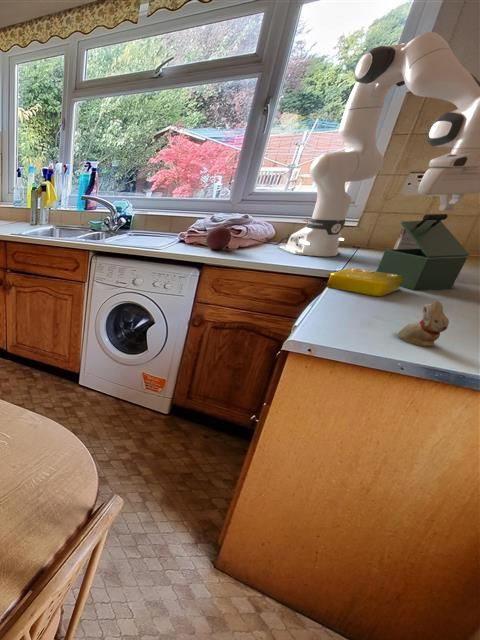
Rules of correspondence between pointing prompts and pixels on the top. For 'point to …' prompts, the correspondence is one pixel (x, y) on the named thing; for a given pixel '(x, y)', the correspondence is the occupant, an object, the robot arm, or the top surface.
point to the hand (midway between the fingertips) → (445, 210)
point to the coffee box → (405, 241)
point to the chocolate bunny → (426, 326)
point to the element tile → (365, 281)
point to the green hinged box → (421, 268)
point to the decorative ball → (218, 238)
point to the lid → (434, 237)
